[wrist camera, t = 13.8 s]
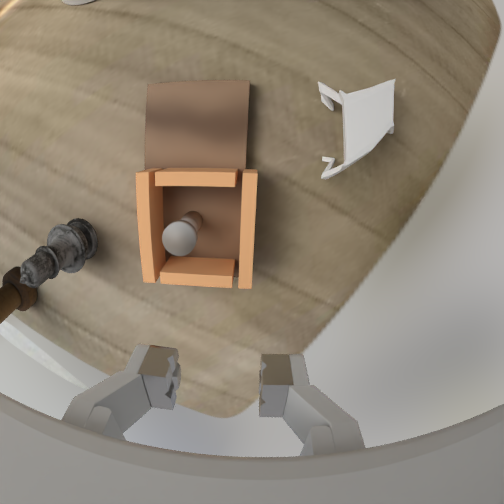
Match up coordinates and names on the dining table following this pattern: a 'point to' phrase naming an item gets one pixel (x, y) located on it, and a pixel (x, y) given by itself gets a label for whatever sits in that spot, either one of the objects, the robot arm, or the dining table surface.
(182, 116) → the peg board
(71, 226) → the grey chess piece
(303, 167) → the dining table surface
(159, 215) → the square wooden frame
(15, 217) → the dining table surface
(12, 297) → the mortar and pestle
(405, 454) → the robot arm
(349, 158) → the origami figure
